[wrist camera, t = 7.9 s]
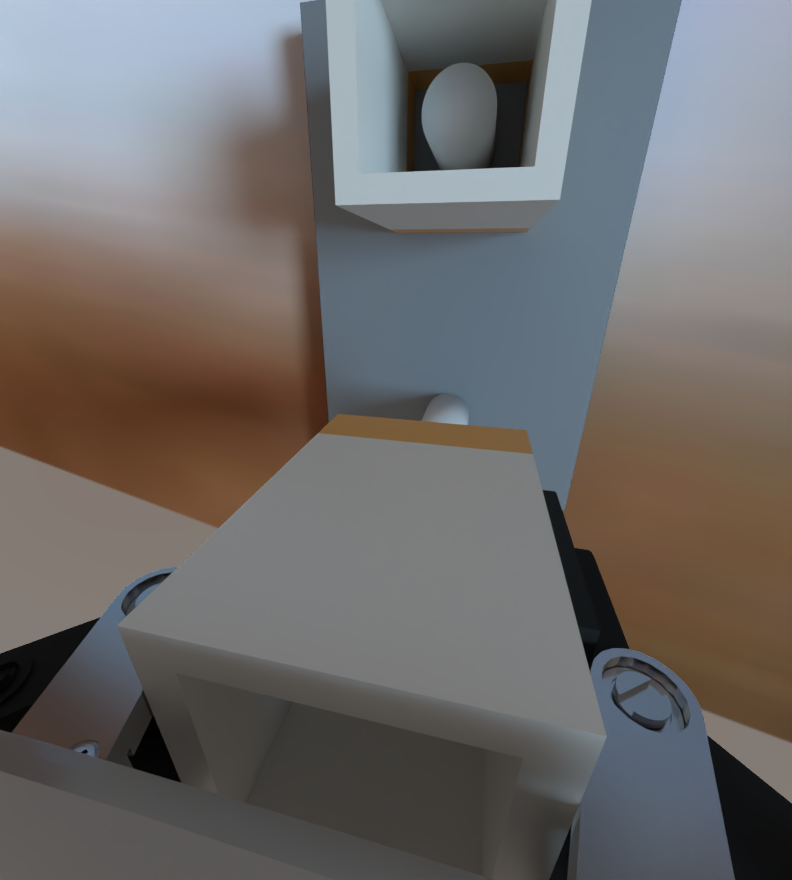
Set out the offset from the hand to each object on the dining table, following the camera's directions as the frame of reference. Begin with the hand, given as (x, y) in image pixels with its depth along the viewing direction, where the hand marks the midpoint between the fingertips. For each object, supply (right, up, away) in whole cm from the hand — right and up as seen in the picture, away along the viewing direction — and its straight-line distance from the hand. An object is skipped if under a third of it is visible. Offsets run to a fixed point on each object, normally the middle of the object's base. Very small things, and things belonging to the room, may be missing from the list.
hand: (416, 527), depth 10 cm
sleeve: (0, 0, +1) cm, 1 cm away
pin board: (+2, +9, +7) cm, 11 cm away
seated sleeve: (+2, +13, +4) cm, 13 cm away
